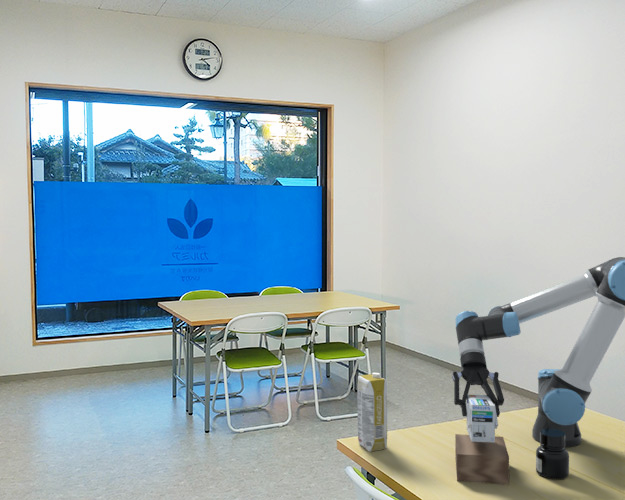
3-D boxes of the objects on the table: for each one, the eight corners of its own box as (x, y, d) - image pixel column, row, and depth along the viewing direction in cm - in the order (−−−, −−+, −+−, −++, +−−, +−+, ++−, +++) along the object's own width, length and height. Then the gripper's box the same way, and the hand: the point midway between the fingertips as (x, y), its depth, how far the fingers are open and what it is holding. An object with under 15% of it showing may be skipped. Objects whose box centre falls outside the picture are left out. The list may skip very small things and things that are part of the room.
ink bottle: (542, 464, 184) (542, 424, 183) (573, 471, 178) (573, 431, 178) (530, 475, 177) (531, 434, 176) (562, 483, 171) (563, 441, 170)
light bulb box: (495, 443, 174) (496, 405, 173) (471, 442, 175) (471, 404, 174) (488, 429, 185) (489, 394, 184) (465, 429, 185) (466, 393, 185)
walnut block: (503, 462, 186) (503, 436, 186) (508, 485, 171) (509, 457, 170) (455, 459, 189) (455, 434, 189) (457, 481, 174) (457, 454, 173)
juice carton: (390, 449, 197) (389, 375, 196) (368, 453, 194) (367, 378, 193) (376, 439, 206) (375, 368, 205) (355, 443, 203) (354, 371, 202)
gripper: (502, 363, 193) (515, 432, 178) (439, 363, 194) (446, 431, 179) (506, 350, 187) (520, 420, 172) (441, 350, 189) (449, 420, 174)
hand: (482, 426), depth 176 cm, fingers closed on light bulb box, 7 cm apart
